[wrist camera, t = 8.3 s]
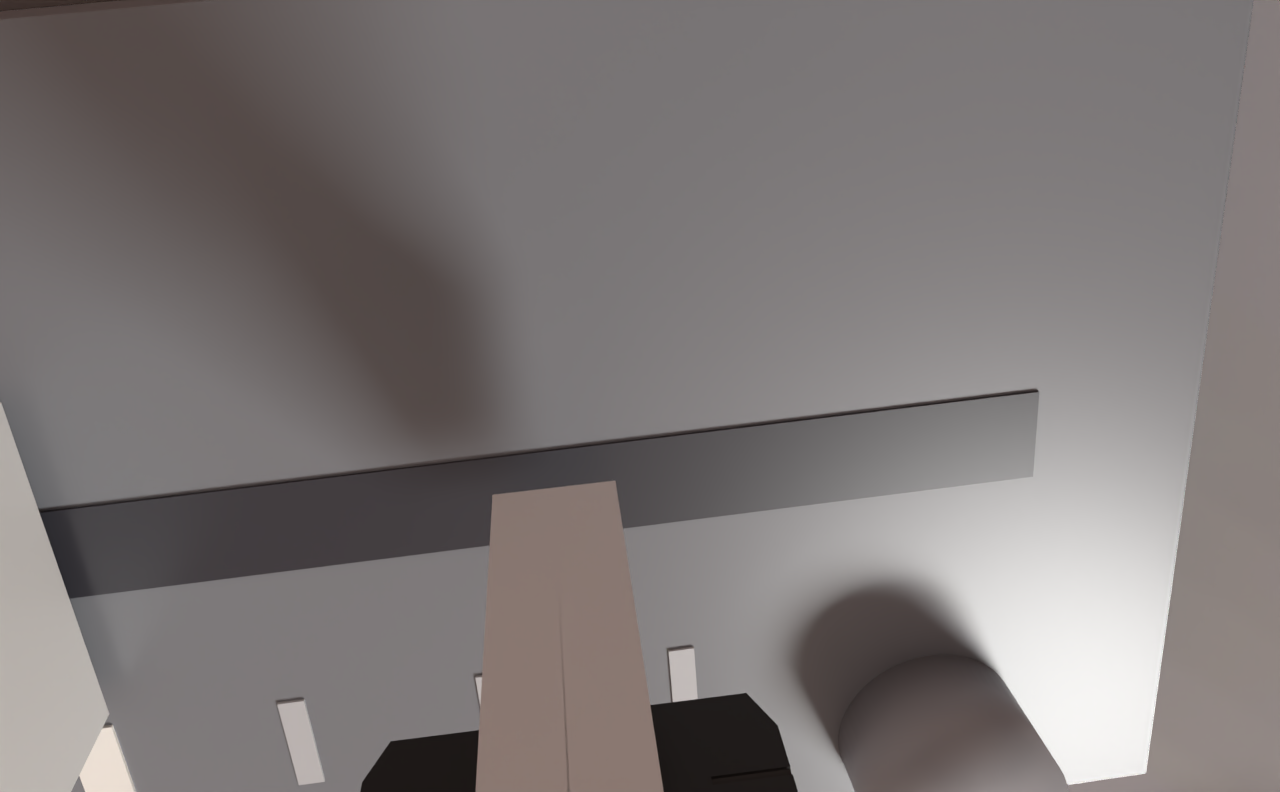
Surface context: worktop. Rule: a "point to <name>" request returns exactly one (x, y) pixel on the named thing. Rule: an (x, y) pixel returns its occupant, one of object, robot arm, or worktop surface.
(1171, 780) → the worktop surface
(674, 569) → the console
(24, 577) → the fader
